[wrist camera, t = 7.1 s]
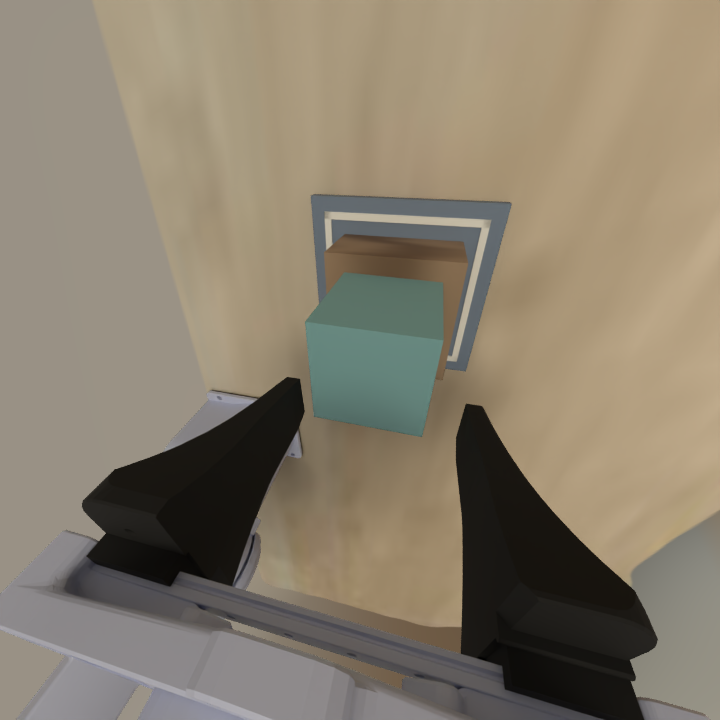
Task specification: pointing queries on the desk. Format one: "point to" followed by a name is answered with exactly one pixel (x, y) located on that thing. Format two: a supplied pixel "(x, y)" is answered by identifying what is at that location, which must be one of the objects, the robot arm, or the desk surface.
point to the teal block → (376, 351)
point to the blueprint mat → (421, 221)
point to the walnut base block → (404, 269)
